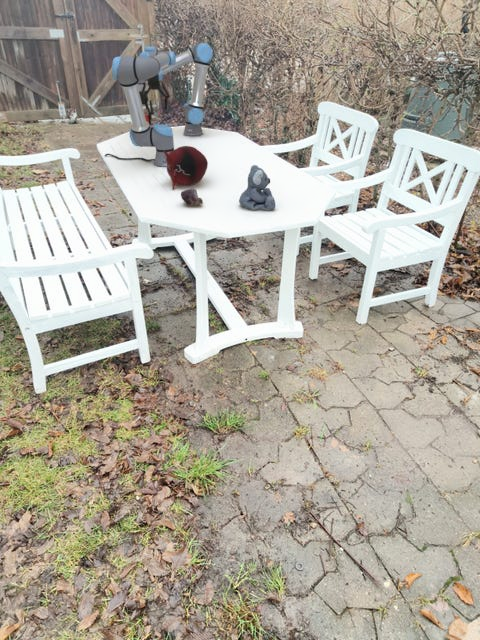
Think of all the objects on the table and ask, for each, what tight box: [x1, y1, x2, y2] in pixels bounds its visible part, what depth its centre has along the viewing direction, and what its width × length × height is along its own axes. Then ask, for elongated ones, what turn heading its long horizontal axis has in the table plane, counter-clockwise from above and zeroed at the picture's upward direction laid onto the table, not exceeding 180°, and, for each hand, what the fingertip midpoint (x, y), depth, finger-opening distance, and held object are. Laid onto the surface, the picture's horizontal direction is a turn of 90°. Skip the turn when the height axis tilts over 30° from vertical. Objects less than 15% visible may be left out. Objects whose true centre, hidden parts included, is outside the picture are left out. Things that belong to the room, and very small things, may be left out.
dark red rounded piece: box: [163, 145, 209, 190], centre depth 255 cm, size 21×24×25 cm
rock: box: [180, 188, 204, 207], centre depth 229 cm, size 12×9×10 cm
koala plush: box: [238, 164, 276, 211], centre depth 224 cm, size 17×18×20 cm
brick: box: [144, 112, 149, 123], centre depth 339 cm, size 7×6×8 cm
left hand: (156, 109), depth 309 cm, fingers open, 13 cm apart
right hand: (145, 124), depth 341 cm, fingers closed on brick, 6 cm apart
